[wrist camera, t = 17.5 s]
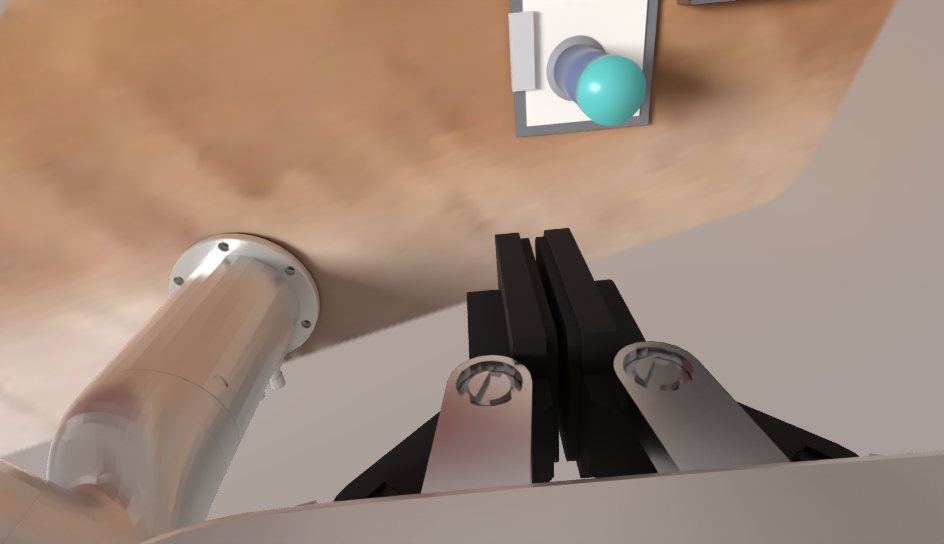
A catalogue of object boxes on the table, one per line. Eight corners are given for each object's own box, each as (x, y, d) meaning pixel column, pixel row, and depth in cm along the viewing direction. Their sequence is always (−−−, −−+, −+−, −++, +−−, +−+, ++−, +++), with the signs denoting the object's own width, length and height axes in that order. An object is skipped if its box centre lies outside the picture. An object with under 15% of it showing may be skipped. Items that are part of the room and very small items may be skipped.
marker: (551, 98, 37) (578, 127, 29) (552, 44, 35) (582, 58, 27) (600, 95, 37) (642, 124, 29) (604, 41, 35) (649, 55, 27)
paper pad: (646, 123, 39) (651, 127, 38) (513, 135, 39) (515, 140, 38) (660, -63, 33) (667, -65, 32) (504, -47, 33) (506, -49, 32)
